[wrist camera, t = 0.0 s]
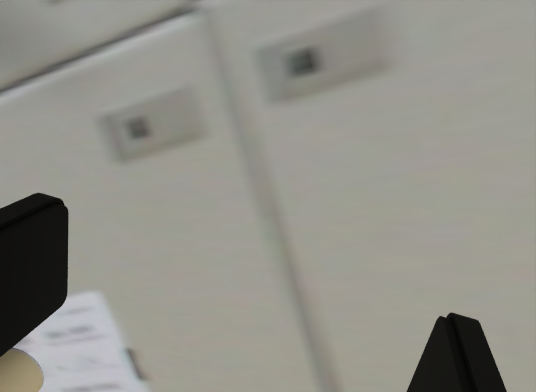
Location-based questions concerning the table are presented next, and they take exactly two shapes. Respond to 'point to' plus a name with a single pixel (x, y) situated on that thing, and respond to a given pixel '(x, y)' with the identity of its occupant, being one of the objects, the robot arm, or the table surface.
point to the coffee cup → (19, 372)
